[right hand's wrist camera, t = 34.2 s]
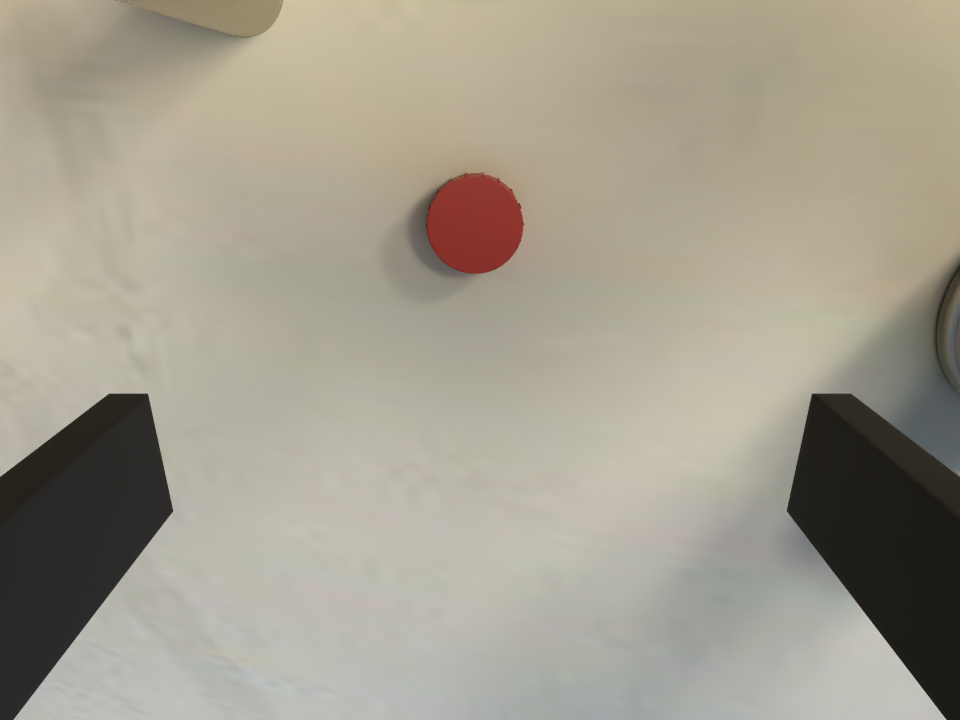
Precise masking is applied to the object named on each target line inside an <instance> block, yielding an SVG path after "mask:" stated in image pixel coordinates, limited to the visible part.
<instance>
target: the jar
mask: <svg viewBox="0 0 960 720" xmlns="http://www.w3.org/2000/svg"><path fill="white" fill-rule="evenodd" d="M116 1H119V2H122V3H126V4H129V5H132V6H136V7H139V8H142V9H146V10H149V11H152V12H156V13H159V14H162V15H166V16H169V17H172V18H176V19H179V20H182V21H185V22H189V23H192V24H195V25H199V26H202V27H205V28H209V29H212V30H215V31H219V32H222V33H225V34H229V35H232V36H236V37H251V36H255V35H258V34H260V33H262V32H264V31H265V30H267V29H268V28H269V27H270V26H271V25H272V24H273V23H274V21H275V20H276V18H277V17H278V15H279V12H280V10H281V6H282V2H283V0H116Z"/></svg>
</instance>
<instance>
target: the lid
mask: <svg viewBox="0 0 960 720" xmlns="http://www.w3.org/2000/svg"><path fill="white" fill-rule="evenodd" d="M520 209H521V206H520V203H518V202H517V200H516V198H515V196H514V194H513V191H512V189H509V188H508V187H507V186H506V185H505V184H504V183H502V182H501V181H500V179H499V178H498V179H496V178H494V177H491V176H488V175H485V174H484V173H482V174H467V173H465V175H462V176H459V177H457V178H454V179H453V180H452V179H450V180H449V182H448V183H447V184H446V185H444V186H443V187H442V189H441V190H440V191H439V190H438V191H437V193H436V197H435V199H434V201H433V203H432V205H430V207H429V209H428V210H429V213H428V218H427V225H426V227H427V232H428V237H429V240H430V243H431V245H432V248H433V249H434V251H435V253H436V254H437V255H438V257H439V258H440V259H441V260H442V261H443V262H444V263H446V264H447V265H448V266H450V267H452V268H454V269H456V270H458V271H461V272H465V273H471V274H479V273H485V272H489V271H492V270H495V269H497V268H498V267H500V266H502V265H503V264H505V263H506V262H507V261H508V260H509V259H510V258H511V257H512V256H513V254H514V253H515V251H516V250H517V248H518V246H519V244H520V242H521V238H522V232H523V225H524V223H523V218H522V213H521V210H520Z"/></svg>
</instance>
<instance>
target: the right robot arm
mask: <svg viewBox="0 0 960 720" xmlns="http://www.w3.org/2000/svg"><path fill="white" fill-rule="evenodd" d="M937 349H938V356H939V359H940V363H941V366H942V368H943V371H944V373H945V375H946V377H947V378H948V380H949V382H950V383H951V384H952V386H953V387H954V388H955V389H956V390H957V391H958V392H959V393H960V269H959V271H958V272H957V274H956V276H955V277H954V279H953V281H952V283H951V285H950V287H949V289H948V291H947V293H946V296H945V298H944V301H943V304H942V307H941V311H940V314H939V320H938V326H937ZM172 512H173V508H172V503H171V499H170V494H169V489H168V485H167V480H166V475H165V471H164V466H163V462H162V457H161V452H160V448H159V443H158V438H157V434H156V429H155V424H154V420H153V415H152V411H151V406H150V401H149V397H148V394H108V395H107V396H106V397H104V398H103V399H102V400H100V401H99V402H98V403H96V404H95V405H94V406H92V407H91V408H90V409H89V410H87V411H86V412H85V413H83V414H82V415H81V416H79V417H78V418H77V419H75V420H74V421H73V422H72V423H70V424H69V425H68V426H66V427H65V428H64V429H62V430H61V431H60V432H58V433H57V434H56V435H55V436H53V437H52V438H51V439H49V440H48V441H47V442H45V443H44V444H43V445H41V446H40V447H39V448H38V449H36V450H35V451H34V452H32V453H31V454H30V455H28V456H27V457H26V458H24V459H23V460H22V461H21V462H19V463H18V464H17V465H15V466H14V467H13V468H11V469H10V470H9V471H8V472H6V473H5V474H4V475H2V476H1V477H0V720H14V718H15V717H16V716H17V714H18V713H19V712H20V710H21V709H22V708H23V706H24V705H25V704H26V703H27V701H28V700H29V699H30V697H31V696H32V695H33V693H34V692H35V691H36V689H37V688H38V687H39V686H40V684H41V683H42V682H43V680H44V679H45V678H46V676H47V675H48V674H49V672H50V671H51V670H52V669H53V667H54V666H55V665H56V663H57V662H58V661H59V659H60V658H61V657H62V656H63V654H64V653H65V652H66V650H67V649H68V648H69V646H70V645H71V644H72V642H73V641H74V640H75V639H76V637H77V636H78V635H79V633H80V632H81V631H82V629H83V628H84V627H85V625H86V624H87V623H88V622H89V620H90V619H91V618H92V616H93V615H94V614H95V612H96V611H97V610H98V608H99V607H100V606H101V605H102V603H103V602H104V601H105V599H106V598H107V597H108V595H109V594H110V593H111V591H112V590H113V589H114V588H115V586H116V585H117V584H118V582H119V581H120V580H121V578H122V577H123V576H124V575H125V573H126V572H127V571H128V569H129V568H130V567H131V565H132V564H133V563H134V561H135V560H136V559H137V558H138V556H139V555H140V554H141V552H142V551H143V550H144V548H145V547H146V546H147V544H148V543H149V542H150V541H151V539H152V538H153V537H154V535H155V534H156V533H157V531H158V530H159V529H160V527H161V526H162V525H163V524H164V522H165V521H166V520H167V518H168V517H169V516H170V514H171V513H172ZM787 512H788V513H789V514H790V516H791V517H792V518H793V520H794V521H795V522H796V524H797V525H798V526H799V527H800V529H801V530H802V531H803V533H804V534H805V535H806V537H807V538H808V539H809V541H810V542H811V543H812V544H813V546H814V547H815V548H816V550H817V551H818V552H819V554H820V555H821V556H822V558H823V559H824V560H825V561H826V563H827V564H828V565H829V567H830V568H831V569H832V571H833V572H834V573H835V575H836V576H837V577H838V578H839V580H840V581H841V582H842V584H843V585H844V586H845V588H846V589H847V590H848V591H849V593H850V594H851V595H852V597H853V598H854V599H855V601H856V602H857V603H858V605H859V606H860V607H861V608H862V610H863V611H864V612H865V614H866V615H867V616H868V618H869V619H870V620H871V622H872V623H873V624H874V625H875V627H876V628H877V629H878V631H879V632H880V633H881V635H882V636H883V637H884V639H885V640H886V641H887V642H888V644H889V645H890V646H891V648H892V649H893V650H894V652H895V653H896V654H897V656H898V657H899V658H900V659H901V661H902V662H903V663H904V665H905V666H906V667H907V669H908V670H909V671H910V672H911V674H912V675H913V676H914V678H915V679H916V680H917V682H918V683H919V684H920V686H921V687H922V688H923V689H924V691H925V692H926V693H927V695H928V696H929V697H930V699H931V700H932V701H933V703H934V704H935V705H936V706H937V708H938V709H939V710H940V712H941V713H942V714H943V716H944V717H945V718H946V720H960V477H959V476H958V475H956V474H955V473H954V472H952V471H951V470H950V469H949V468H947V467H946V466H945V465H943V464H942V463H941V462H939V461H938V460H937V459H936V458H934V457H933V456H932V455H930V454H929V453H928V452H926V451H925V450H924V449H922V448H921V447H920V446H919V445H917V444H916V443H915V442H913V441H912V440H911V439H909V438H908V437H907V436H905V435H904V434H903V433H902V432H900V431H899V430H898V429H896V428H895V427H894V426H892V425H891V424H890V423H888V422H887V421H886V420H885V419H883V418H882V417H881V416H879V415H878V414H877V413H875V412H874V411H873V410H871V409H870V408H869V407H868V406H866V405H865V404H864V403H862V402H861V401H860V400H858V399H857V398H856V397H854V396H853V395H852V394H812V397H811V401H810V406H809V411H808V415H807V420H806V424H805V429H804V434H803V438H802V443H801V448H800V452H799V457H798V462H797V466H796V471H795V475H794V480H793V485H792V489H791V494H790V499H789V503H788V508H787Z"/></svg>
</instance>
